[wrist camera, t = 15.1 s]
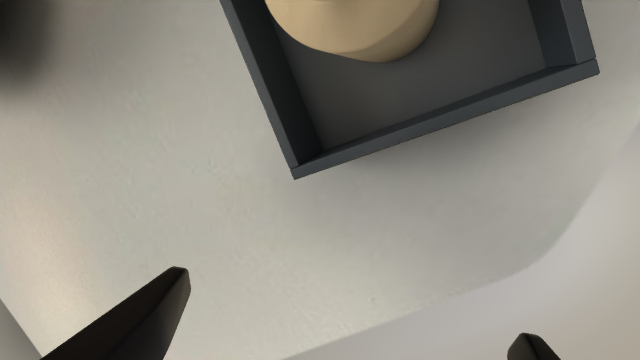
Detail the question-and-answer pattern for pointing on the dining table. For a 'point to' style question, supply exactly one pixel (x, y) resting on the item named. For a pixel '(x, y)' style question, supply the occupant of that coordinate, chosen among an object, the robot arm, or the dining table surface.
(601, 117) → the dining table surface
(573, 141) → the dining table surface
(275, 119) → the dark gray square tray
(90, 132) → the dining table surface
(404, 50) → the candle
